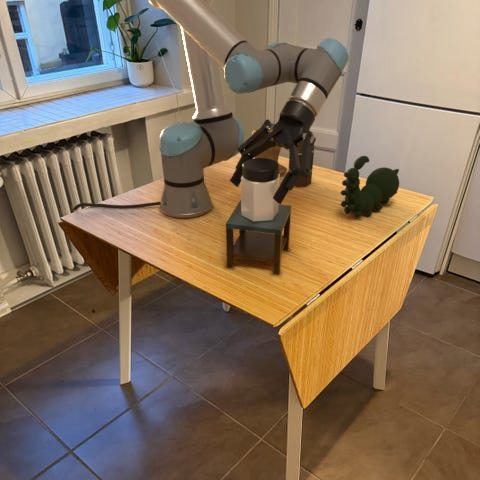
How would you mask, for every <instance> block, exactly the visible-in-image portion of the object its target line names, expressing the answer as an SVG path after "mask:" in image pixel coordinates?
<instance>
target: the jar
mask: <svg viewBox="0 0 480 480" xmlns="http://www.w3.org/2000/svg"><path fill="white" fill-rule="evenodd" d="M278 163H279V161H278V162H276V161H274V160H272V159H267V158H255V157H254V158H253V159H250V160H247V161H245V162H244V163H243V176H242V177H241V182H240V200H241V215H242V216H244V217H246V218H247V219H249V220H251V221H253V222H259V221H270V220H273V219H274V217H275V216H276V214H277V213H278V208H279V204H278V203H277V202H276V201H275V200H274V199H273V197H274V195H275V193H276V191H277V190H278V188H279V186H280V184H281V174H279V164H280V163H279V164H278Z"/></svg>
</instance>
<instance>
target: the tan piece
mask: <svg viewBox="0 0 480 480" xmlns="http://www.w3.org/2000/svg"><path fill="white" fill-rule="evenodd" d="M258 129H259V128H256V129H253V130H252V132H251V136H252V135H253V134H254V133H255V132H256V131H257V130H258ZM271 139H272V140H273V138H271ZM281 150H282V147H278V146H275V147H271V148H269V149H268V150H266V151H264V152H263V153H261V154H259V155H258V156H256V157H254V158H267V159H272V160H274V161H276V162H278V164H279V174H280V175H281V174H285V173H287V172H288V171H289V168H287V167H286V166H284V165H282V164H280V163H279V157H280V153H281Z"/></svg>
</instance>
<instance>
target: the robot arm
mask: <svg viewBox="0 0 480 480" xmlns="http://www.w3.org/2000/svg"><path fill="white" fill-rule="evenodd" d="M147 2H148V3H149V4H150V5H151V6H152V7H154V8H155V9H159V10H160V9H161V10H163V11H164V12H165V13H166V14H167V15H168V16H169V17H170V18H171V19H172V20H173V21H174V22H175V23H176V24H178V25H179V27H180V29H181V34H182V40H183V45H184V51H185V57H186V63H187V66H188V67H187V68H188V72H189V78H190V83H191V88H192V93H193V98H194V104H195V109H196V110H195V113H194V114H193V116H192V121H182V122H179V121H178V122H174V123H172V124H170V125H167V126H165V127H164V128H163V129H162V130H161V132H160V133H159V151H160V158H161V165H162V176H163V189H162V193H161V199H160V201H155V202H147V203H146V202H145V203H138V204H109V203H91V202H80V203H78V204H76V205H74V207H73V208H72V211H77V210H78V209H80V208H81V207H91V208H105V209H106V208H107V209H137V208H138V209H139V208H147V207H155V206H160V210H161V212H162V213H163V214H164V215H165V216H168V217H171V218H175V219H194V218H198V217H200V216H204V215H205V214H207V213H208V212H210V211H211V209H212V205H213V204H212V198H211V195H210V193H209V191H208V188H207V185H206V182H205V170H204V169H206V168H208V167H211V166H214V165H216V164H219V163H222V162H227V161H229V160H230V159H232V158H234V157H236V156H237V155H238V154H240V155H241V156H240V158H239V159H238V162H237V163H236V165H235V171H234V173H233V174H232V176H231V178H230V179H229V182H230V183H232V184H233V185H234V186H235V187H237V188H239V186H240V185H241V177H242V176H243V163H244V162H245V161H247V160H250V159H254V158H255V157H256V156H258V155H259V154H261V153H263V152H264V151H266V150H268V149H269V148H271V147H275V146H278V147H281V148H283V149H285V150H286V151H288V153H289V154H290V162H291V170H292V171H291V170H290V171H291V172H292V174H291V173H290V172H289V171H286V174H285V176H284V177H283V179H282V181H281V182H280V186H279V188H278V190H277V191H276V193H275V195H274V197H273V199H274V200H275V201H276V202H277V203H278V204H280V205H282V203H283V201H284V199H285V198H286V196H287V194H288V193H289V191H290V192H291V191H293V189H294V188H295V186H294V185H295V184H296V182H297V180H298V179H299V178H301V177H304V178H308V177H309V173H310V164H311V156H312V147H313V145H314V146H315V142H316V140H317V138H316V137H315V134H313V132H312V131H311V128H312V126H313V124H314V123H315V121H316V118H317V116H318V115H319V113H320V111H321V110H322V108H323V107H324V104H325V103H326V100H328V97H329V95H330V93H331V92H332V90H333V88H334V87H335V85H336V84H337V82H338V81H339V79H340V78H341V77H342V75H343V71H344V69H345V67H346V65H347V64H348V61H349V57H350V56H349V55H350V54H349V52H348V50H347V48H346V47H345V46H344V44H343V43H342V42H340V41H339V40H337V39H335V38H331V37H326V38H323V39H322V40H321V41H320V42H319V44H317V46H316V48H312V47H310V48H309V47H304V46H299V45H293V44H291V43H287V42H272V43H270V44H269V45H268V47H266V48H265V49H260V50H258V49H256V48H255V47H254V46H253V45H252V44H251V43H250V42H249V41H247V39H246V38H244V37H243V36H242V35H241V34H240V33H239V32H238V31H237V30H236V29H235V28H234V27H233V26H232V25H230V23H229V22H228V21H227V20H226V19H225V18H223V16H221V15H220V14H219V13H218V12H217V11H216V10H215V9H214V8H213V7H212V3H213V2H214V0H147ZM221 68H222V69H223V76H224V80H225V82H226V83H227V87H228V88H229V90H230V91H231V92H233V93H236V94H238V95H239V94H249V93H254V92H256V91H259V90H262V89H266V88H270V87H274V86H277V85H282V84H285V83H293V84H295V87H294V88H293V89H292V92H291V93H290V94H289V97H288V100H287V101H286V102H285V104H284V106H283V107H282V109H281V111H280V113H279V118H278V121H277V122H276V123H273V122H272V121H271V120H270V119H269V118H268V119H265V120H264V122H263V124H262V125H261V127H260V128H257V129H258V130H257V131H256V132H255V133H254V134H253V135H252V134H251V135H250V137H248V138H247V139H246V140H245V131H244V128H243V125H242V124H241V123H240V120H239V119H238V118H237V117H236V116H234V115H233V110H232V109H231V108H230V107H228V105H227V104H226V97H225V91H224V85H223V78H222V72H221ZM309 129H310V131H309ZM308 131H309V132H308ZM271 138H273V140H272V139H271ZM302 140H303V147H302V156H301V164H300V162H299V154H298V152H299V149H298V143H300V142H301V141H302ZM289 154H288V155H289ZM91 311H92V312H91V313H93V314H95V313H96V310H95V309H91Z"/></svg>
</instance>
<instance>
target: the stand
mask: <svg viewBox="0 0 480 480" xmlns="http://www.w3.org/2000/svg"><path fill="white" fill-rule="evenodd" d="M291 219H292V205H290V204H289V205H288V204H279V208H278V213H277V214H276V216H275V217H274V219H273V220H270V221H259V222H253V221H251V220H249V219H247V218H246V217H244V216H242V215H241V199H240V200H239V201H238V203H237V205H236V206H235V208H234V210H233V211H232V213H231V214H230V216H229V218H228V219H227V221H226V222H225V239H226V241H225V242H226V243H225V244H226V245H225V246H226V268H227V269H233V268H234V266H235V258H238V259H239V258H240V259H247V260H254V261H261V262H268V263H273V270H272V271H273V273H272V274H273V275H277V276H279V275H280V273H281V264H282V263H281V261H282V253H283V251H284V252H285V251H286V252H288V251H289V249H290V235H291V222H292V221H291ZM234 230H239V233H238V237H237V238H236V240H235V241H234Z"/></svg>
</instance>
